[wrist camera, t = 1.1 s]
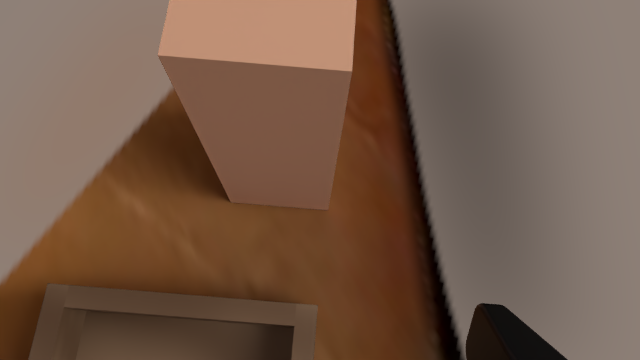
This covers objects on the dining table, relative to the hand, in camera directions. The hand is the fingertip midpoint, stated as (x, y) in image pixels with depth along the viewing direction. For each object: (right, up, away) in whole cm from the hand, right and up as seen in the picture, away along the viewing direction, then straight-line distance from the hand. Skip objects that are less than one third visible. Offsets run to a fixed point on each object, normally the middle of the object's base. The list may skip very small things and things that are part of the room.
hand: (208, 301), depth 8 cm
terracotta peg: (0, +3, +15) cm, 15 cm away
